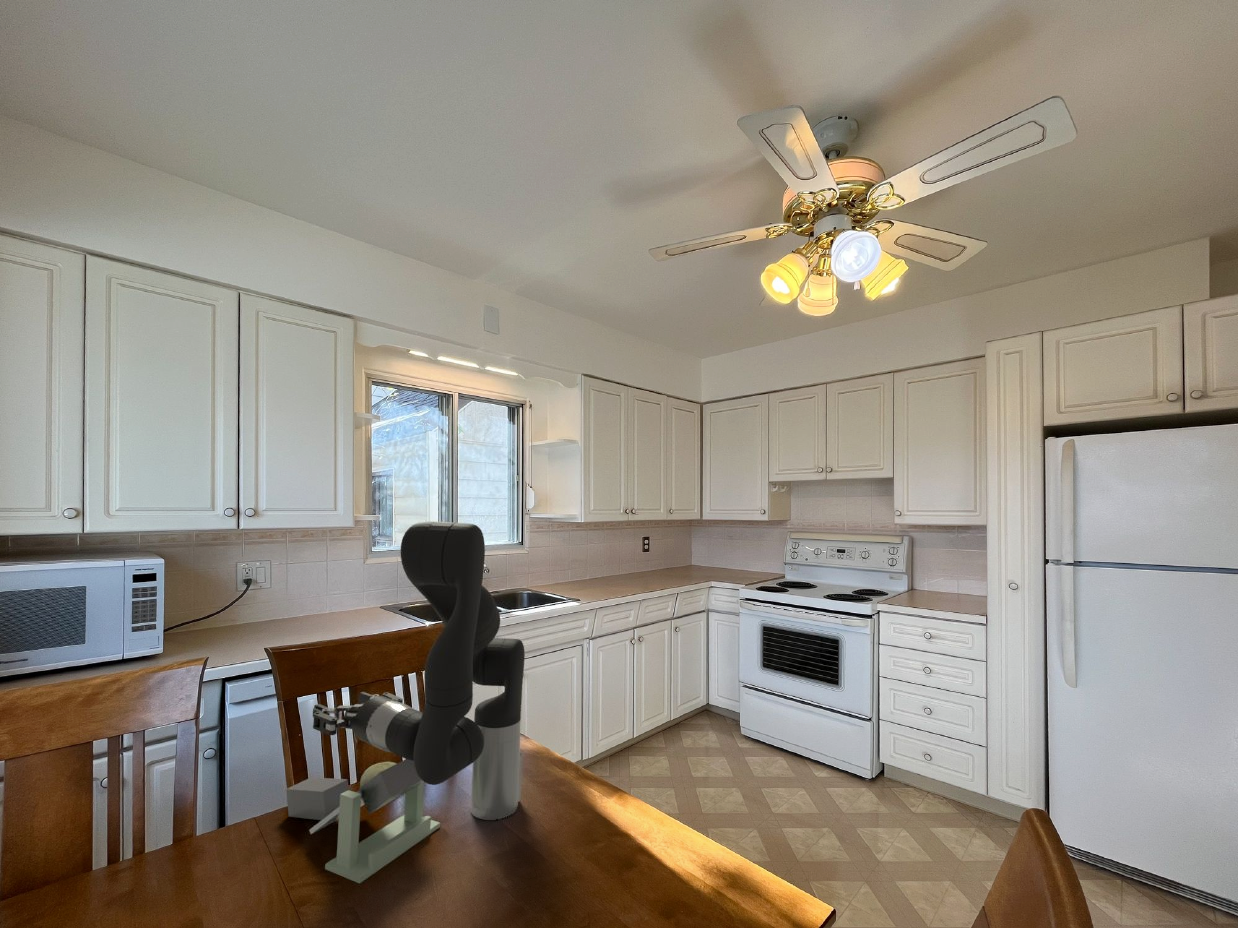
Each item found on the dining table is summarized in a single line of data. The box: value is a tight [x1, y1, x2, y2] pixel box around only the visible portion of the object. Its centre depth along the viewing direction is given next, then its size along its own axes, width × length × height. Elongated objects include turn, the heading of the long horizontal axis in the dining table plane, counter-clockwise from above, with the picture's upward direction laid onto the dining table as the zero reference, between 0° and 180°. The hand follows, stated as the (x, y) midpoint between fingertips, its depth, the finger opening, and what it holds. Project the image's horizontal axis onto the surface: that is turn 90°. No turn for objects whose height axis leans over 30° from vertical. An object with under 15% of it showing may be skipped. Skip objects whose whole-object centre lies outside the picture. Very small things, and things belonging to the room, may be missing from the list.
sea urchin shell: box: [359, 761, 398, 788], centre depth 121 cm, size 9×8×8 cm
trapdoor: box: [308, 758, 425, 835], centre depth 102 cm, size 12×20×4 cm
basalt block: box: [285, 777, 350, 821], centre depth 109 cm, size 5×5×12 cm
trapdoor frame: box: [324, 782, 441, 884], centre depth 100 cm, size 18×8×12 cm, turn 155°
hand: (338, 703), depth 107 cm, fingers open, 8 cm apart
